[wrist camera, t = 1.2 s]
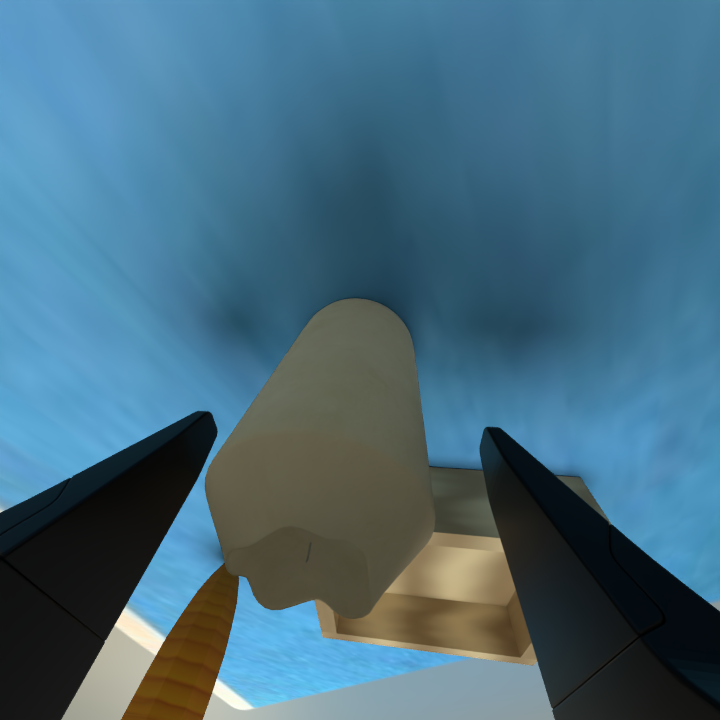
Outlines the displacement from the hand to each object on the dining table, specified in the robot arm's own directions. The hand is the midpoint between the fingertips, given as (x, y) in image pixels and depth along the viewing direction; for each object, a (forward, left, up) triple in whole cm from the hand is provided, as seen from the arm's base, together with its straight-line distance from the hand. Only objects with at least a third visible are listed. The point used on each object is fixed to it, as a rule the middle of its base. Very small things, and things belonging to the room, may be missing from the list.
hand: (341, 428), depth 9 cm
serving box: (-5, +16, -6) cm, 18 cm away
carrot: (+12, +22, -6) cm, 26 cm away
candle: (0, 0, -6) cm, 6 cm away
